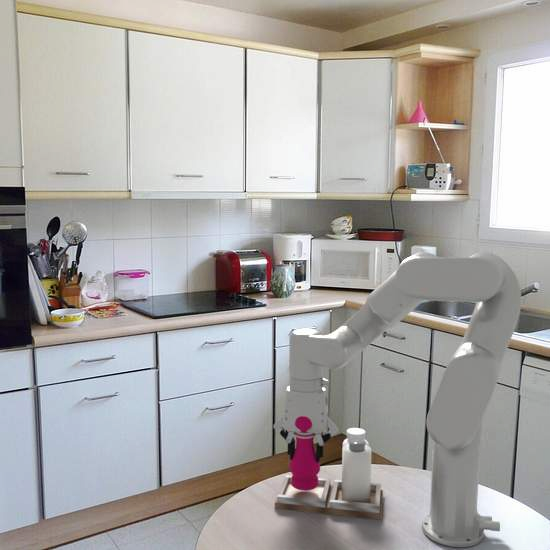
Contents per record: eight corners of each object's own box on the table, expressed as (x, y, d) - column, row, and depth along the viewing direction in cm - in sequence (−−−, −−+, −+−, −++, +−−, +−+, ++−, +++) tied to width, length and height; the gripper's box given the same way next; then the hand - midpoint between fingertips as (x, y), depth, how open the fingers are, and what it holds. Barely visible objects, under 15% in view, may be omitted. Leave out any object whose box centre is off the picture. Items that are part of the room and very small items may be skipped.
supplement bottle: (372, 478, 158) (374, 429, 157) (361, 488, 153) (363, 438, 151) (348, 471, 162) (349, 424, 160) (337, 481, 156) (338, 432, 155)
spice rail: (382, 495, 149) (383, 484, 149) (381, 519, 139) (381, 506, 138) (283, 486, 154) (283, 474, 154) (274, 508, 143) (274, 496, 143)
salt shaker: (371, 493, 147) (372, 437, 146) (369, 507, 141) (370, 449, 139) (342, 490, 149) (343, 435, 147) (340, 504, 142) (341, 447, 140)
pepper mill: (317, 493, 143) (318, 408, 140) (286, 490, 144) (286, 406, 141) (322, 479, 150) (322, 398, 147) (292, 476, 151) (292, 396, 148)
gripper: (344, 380, 146) (343, 455, 148) (272, 376, 149) (272, 449, 151) (341, 390, 138) (340, 468, 141) (265, 386, 142) (266, 462, 144)
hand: (305, 457), depth 146 cm, fingers closed on pepper mill, 5 cm apart
